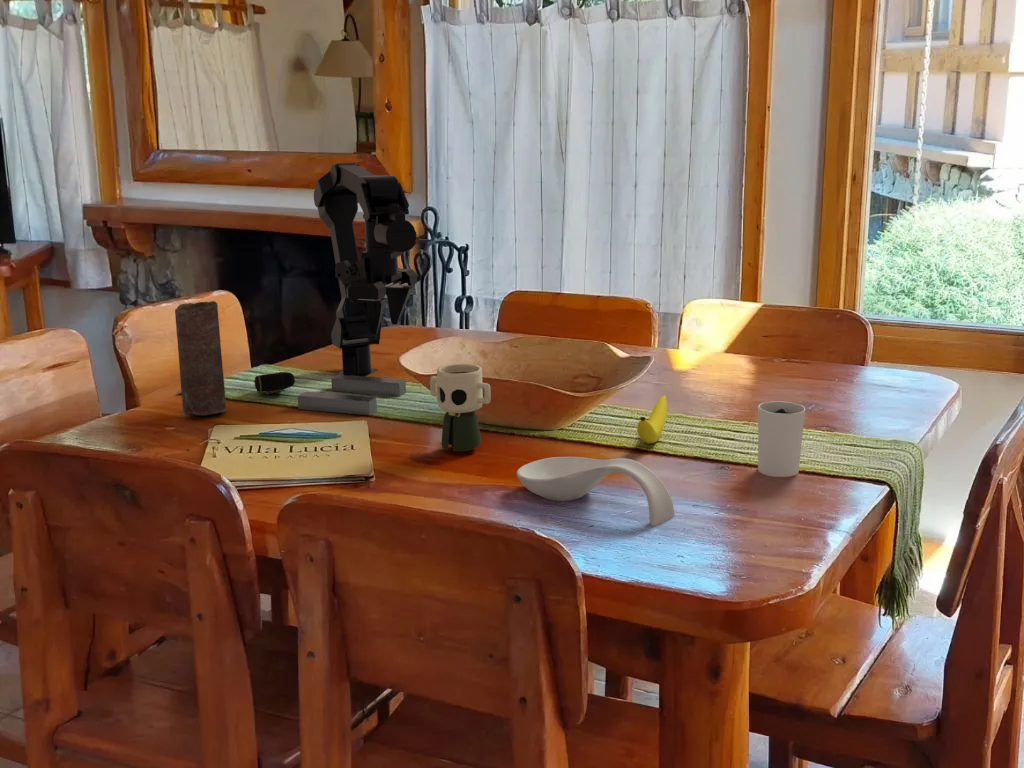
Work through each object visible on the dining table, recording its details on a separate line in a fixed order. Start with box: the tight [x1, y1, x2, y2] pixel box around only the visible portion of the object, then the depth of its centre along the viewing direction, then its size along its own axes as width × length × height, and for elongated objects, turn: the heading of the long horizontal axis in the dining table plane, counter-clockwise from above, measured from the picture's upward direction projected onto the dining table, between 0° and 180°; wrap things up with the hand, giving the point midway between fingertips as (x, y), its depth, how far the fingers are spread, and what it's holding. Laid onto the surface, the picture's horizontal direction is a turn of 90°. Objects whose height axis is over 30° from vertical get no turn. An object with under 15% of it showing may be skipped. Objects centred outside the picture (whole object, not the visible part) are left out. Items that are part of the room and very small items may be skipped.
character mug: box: [429, 363, 492, 452], centre depth 169 cm, size 11×7×13 cm, turn 60°
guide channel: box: [297, 375, 407, 416], centre depth 199 cm, size 16×14×2 cm
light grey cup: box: [757, 400, 806, 478], centre depth 157 cm, size 7×7×10 cm
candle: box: [174, 300, 227, 417], centre depth 188 cm, size 8×7×20 cm
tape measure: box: [253, 371, 296, 395], centre depth 203 cm, size 7×7×4 cm
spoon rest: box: [516, 456, 675, 527], centre depth 147 cm, size 24×12×7 cm, turn 48°
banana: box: [636, 394, 668, 445], centre depth 174 cm, size 3×19×6 cm, turn 162°
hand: (384, 329), depth 202 cm, fingers open, 9 cm apart
